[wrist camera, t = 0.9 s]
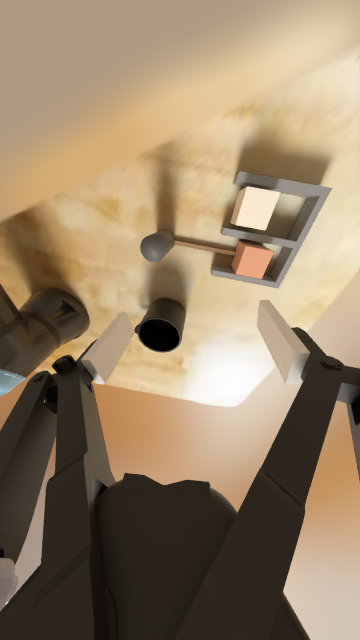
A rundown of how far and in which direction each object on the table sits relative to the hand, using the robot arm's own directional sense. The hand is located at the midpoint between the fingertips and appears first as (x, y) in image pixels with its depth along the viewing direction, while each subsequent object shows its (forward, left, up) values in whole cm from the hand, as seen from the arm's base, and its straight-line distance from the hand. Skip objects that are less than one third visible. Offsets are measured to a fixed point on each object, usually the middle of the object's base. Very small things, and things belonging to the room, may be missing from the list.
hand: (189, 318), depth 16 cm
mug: (-6, -14, -21) cm, 26 cm away
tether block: (+1, +3, -21) cm, 21 cm away
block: (+7, +10, -21) cm, 24 cm away
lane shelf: (+9, +7, -21) cm, 24 cm away
